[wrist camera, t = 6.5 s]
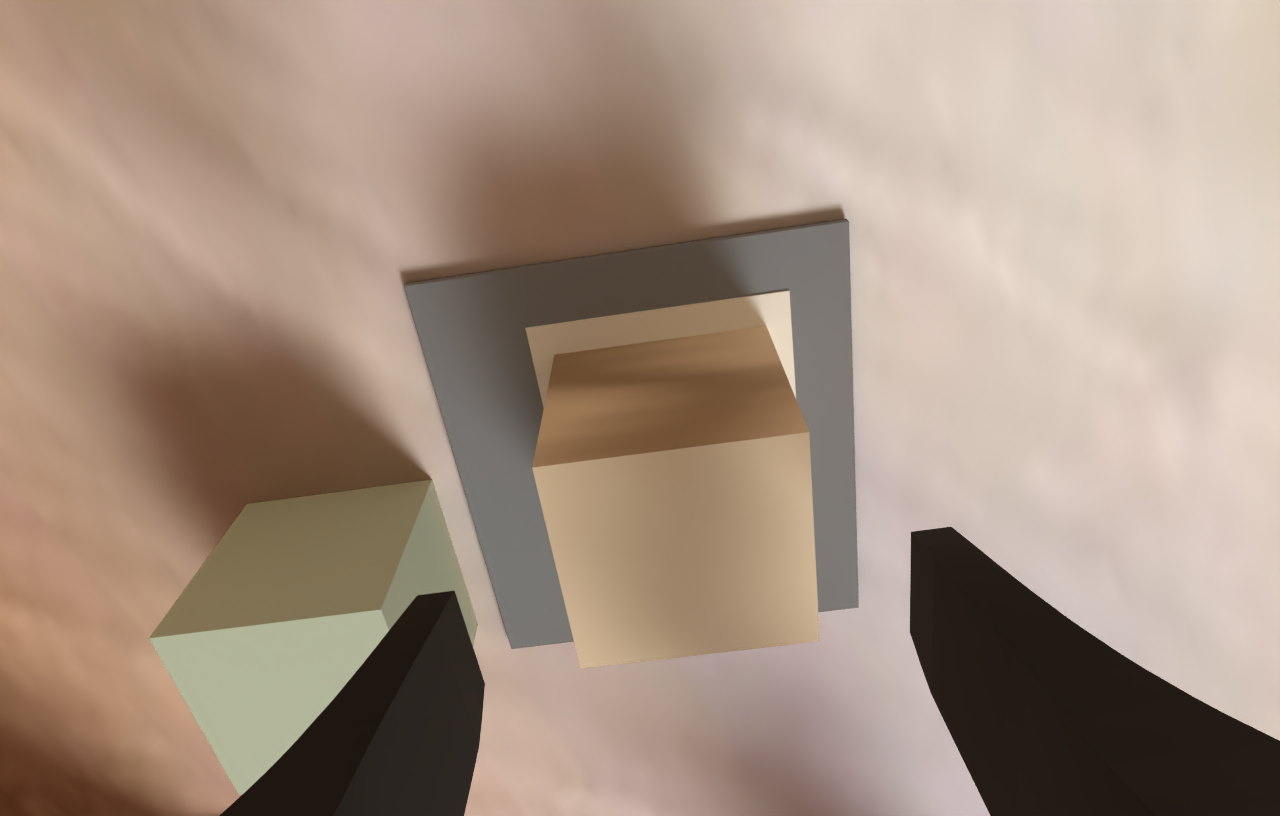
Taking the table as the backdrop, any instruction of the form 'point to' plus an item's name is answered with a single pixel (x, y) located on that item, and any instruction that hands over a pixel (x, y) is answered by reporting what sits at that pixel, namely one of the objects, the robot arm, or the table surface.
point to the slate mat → (622, 315)
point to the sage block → (300, 612)
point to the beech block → (678, 498)
